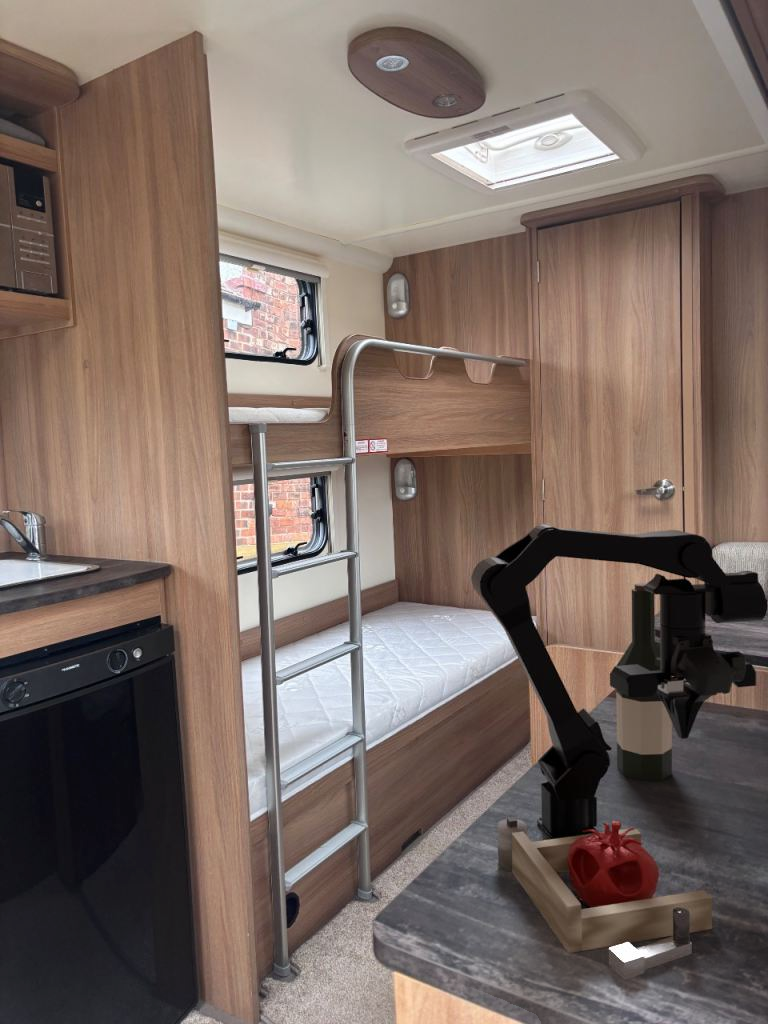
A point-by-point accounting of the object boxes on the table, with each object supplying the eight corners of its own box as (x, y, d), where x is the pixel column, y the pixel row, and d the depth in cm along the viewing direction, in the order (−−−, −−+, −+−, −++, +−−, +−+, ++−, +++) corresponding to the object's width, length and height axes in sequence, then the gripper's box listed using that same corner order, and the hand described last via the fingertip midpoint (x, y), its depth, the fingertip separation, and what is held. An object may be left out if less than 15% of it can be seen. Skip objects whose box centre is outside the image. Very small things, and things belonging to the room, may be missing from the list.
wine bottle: (683, 775, 122) (683, 586, 120) (640, 785, 119) (639, 591, 117) (647, 756, 130) (646, 578, 128) (606, 765, 127) (604, 583, 125)
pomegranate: (586, 869, 97) (585, 796, 96) (669, 892, 91) (668, 814, 90) (555, 907, 88) (553, 827, 88) (644, 935, 83) (643, 849, 82)
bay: (558, 954, 80) (558, 900, 80) (494, 858, 99) (493, 814, 99) (711, 928, 84) (711, 877, 83) (621, 840, 103) (620, 798, 102)
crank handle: (624, 979, 76) (624, 938, 76) (608, 965, 78) (608, 925, 78) (696, 955, 79) (695, 916, 79) (679, 942, 82) (678, 903, 81)
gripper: (650, 644, 95) (650, 768, 96) (785, 632, 99) (784, 752, 100) (607, 625, 106) (608, 736, 107) (730, 615, 109) (730, 723, 111)
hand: (682, 737), depth 106 cm, fingers closed
